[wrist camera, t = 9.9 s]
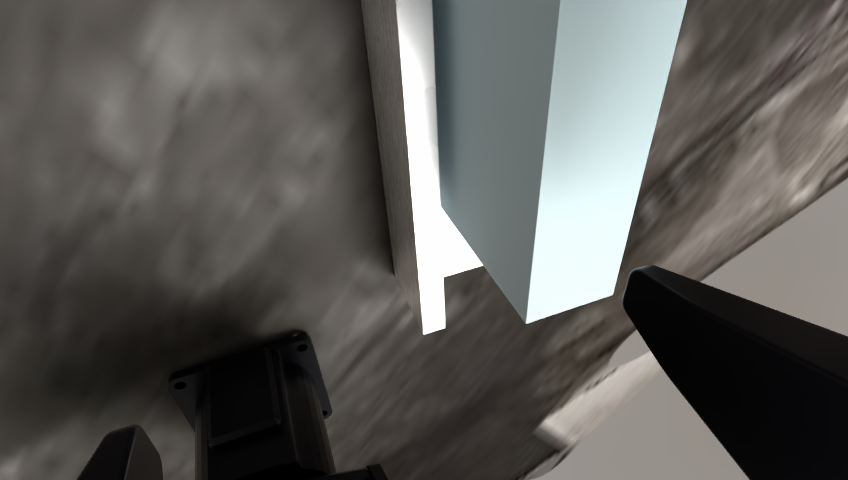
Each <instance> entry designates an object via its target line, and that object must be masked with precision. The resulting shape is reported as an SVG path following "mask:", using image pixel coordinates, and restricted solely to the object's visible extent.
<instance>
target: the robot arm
mask: <svg viewBox="0 0 848 480" xmlns="http://www.w3.org/2000/svg"><path fill="white" fill-rule="evenodd" d="M623 307H624V309H625V311H626V313H627V315H628V316H629V318H630V319H631V321H632V322H633V324H634V326H635V327H636V329H637V330H638V332H639V333H640V335H641V336H642V338H643V339H644V341H645V342H646V344H647V346H648V347H649V349H650V350H651V352H652V353H653V355H654V357H655V358H656V360H657V361H658V363H659V364H660V366H661V367H662V369H663V370H664V371H665V373H666V374H667V376H668V377H669V378H670V380H671V381H672V382H673V384H674V385H675V386H676V387H677V389H678V390H679V391H680V393H681V394H682V395H683V396H684V398H685V399H686V400H687V401H688V403H689V404H690V405H691V406H692V408H693V409H694V410H695V412H696V413H697V414H698V415H699V417H700V418H701V419H702V420H703V422H704V423H705V424H706V425H707V426H708V428H709V429H710V430H711V432H712V433H713V434H714V436H715V437H716V438H717V439H718V441H719V442H720V443H721V444H722V446H723V447H724V448H725V449H726V451H727V452H728V453H729V454H730V456H731V457H732V458H733V460H734V461H735V462H736V463H737V465H738V466H739V467H740V468H741V469H742V471H743V472H744V473H745V475H746V476H747V477H748V478H749V480H848V336H845V335H842V334H839V333H837V332H834V331H831V330H829V329H826V328H823V327H821V326H818V325H815V324H812V323H810V322H806V321H804V320H801V319H799V318H796V317H793V316H790V315H788V314H785V313H782V312H780V311H777V310H774V309H771V308H769V307H766V306H763V305H760V304H758V303H755V302H753V301H750V300H747V299H744V298H742V297H739V296H736V295H734V294H731V293H728V292H725V291H722V290H720V289H717V288H714V287H711V286H709V285H706V284H703V283H701V282H698V281H695V280H693V279H690V278H687V277H685V276H682V275H679V274H676V273H674V272H671V271H668V270H665V269H663V268H660V267H657V266H654V265H646V266H643V267H639V268H636V269H634V270H632V271H631V272H630V274H629V277H628V281H627V284H626V288H625V292H624V295H623ZM301 344H304V345H302V346H299V345H301ZM178 382H181V383H178ZM168 389H169V391H170V392H171V394H172V396H173V397H174V399H175V401H176V402H177V404H178V405H179V407H180V409H181V410H182V412H183V413H184V415H185V417H186V418H187V420H188V421H189V423H190V425H191V426H192V428H193V429H194V431H195V480H388V479H387V477H386V475H385V473H384V471H383V469H382V467H381V466H380V464H373V465H367V466H366V468H363V469H357V470H351V471H345V472H340V473H336V469H335V465H334V461H333V456H332V452H331V448H330V443H329V439H328V435H327V431H326V426H325V422H324V419H326V418H328V417H329V416H330V415H331V414H332V409H331V405H330V401H329V398H328V394H327V391H326V388H325V384H324V381H323V377H322V374H321V371H320V367H319V364H318V361H317V357H316V354H315V350H314V347H313V344H312V340H311V338H310V336H308V335H304V334H302V335H297V336H294V337H291V338H287V339H284V340H281V341H277V342H274V343H271V344H267V345H264V346H261V347H257V348H254V349H251V350H248V351H244V352H241V353H238V354H234V355H231V356H228V357H224V358H221V359H218V360H214V361H211V362H208V363H205V364H201V365H198V366H195V367H191V368H188V369H185V370H181V371H178V372H175V373H173V374H172V375H171V376H169V379H168ZM77 480H163V473H162V463H161V459H160V456H159V453H158V451H157V450H156V448H155V447H154V445H153V444H152V442H151V441H150V439H149V438H148V436H147V435H146V433H145V431H144V430H143V429H142V427H141V426H139V425H136V424H135V425H130V426H127V427H124V428H121V429H118V430H114V431H112V432H110V433H108V434H107V435H106V436H105V437H104V438H103V440H102V441H101V443H100V444H99V446H98V448H97V449H96V451H95V452H94V454H93V455H92V457H91V458H90V460H89V461H88V463H87V465H86V466H85V468H84V469H83V471H82V472H81V474H80V475H79V477H78V479H77Z"/></svg>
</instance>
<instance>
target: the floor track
mask: <svg viewBox="0 0 848 480" xmlns="http://www.w3.org/2000/svg"><path fill="white" fill-rule="evenodd" d="M361 6H362V14H363V22H364V30H365V38H366V47H367V55H368V63H369V71H370V79H371V87H372V95H373V104H374V112H375V120H376V128H377V136H378V144H379V152H380V161H381V169H382V177H383V185H384V193H385V201H386V209H387V217H388V226H389V234H390V242H391V250H392V258H393V266H394V274H395V278H396V280H397V282H398V284H399V286H400V288H401V290H402V292H403V294H404V296H405V298H406V300H407V302H408V304H409V306H410V308H411V310H412V312H413V315H414V317H415V319H416V321H417V323H418V325H419V327H420V329H421V331H422V333H423V335H425V334H428V333H431V332H434V331H437V330H440V329H443V328H445V305H444V281H443V277H445V276H449V275H452V274H456V273H459V272H462V271H466V270H469V269H473V268H476V267H479V266H483V264H482V263H481V262H480V260H479V259H478V257H477V256H476V255H475V253H474V252H473V251H472V249H471V248H470V247H469V245H468V244H467V242H466V241H465V240H464V238H463V237H462V236H461V234H460V233H459V231H458V230H457V229H456V227H455V226H454V225H453V223H452V222H451V221H450V219H449V218H448V216H447V215H446V214H445V212H444V211H443V210H442V208H441V207H440V184H439V159H438V135H437V111H436V86H435V62H434V38H433V14H432V0H361Z"/></svg>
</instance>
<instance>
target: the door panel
mask: <svg viewBox="0 0 848 480" xmlns="http://www.w3.org/2000/svg"><path fill="white" fill-rule="evenodd" d="M686 3H687V0H432V14H433V38H434V62H435V86H436V111H437V135H438V159H439V184H440V207H441V208H442V210H443V211H444V212H445V214H446V215H447V216H448V218H449V219H450V221H451V222H452V223H453V225H454V226H455V227H456V229H457V230H458V231H459V233H460V234H461V236H462V237H463V238H464V240H465V241H466V242H467V244H468V245H469V247H470V248H471V249H472V251H473V252H474V253H475V255H476V256H477V257H478V259H479V260H480V262H481V263H482V264H483V266H484V267H485V268H486V270H487V271H488V273H489V274H490V275H491V277H492V278H493V279H494V281H495V282H496V284H497V285H498V286H499V288H500V289H501V290H502V292H503V293H504V294H505V296H506V297H507V299H508V300H509V301H510V303H511V304H512V305H513V307H514V308H515V310H516V311H517V312H518V314H519V315H520V316H521V318H522V319H523V320H524V322H525V323H526V324H527V323H530V322H533V321H536V320H539V319H542V318H545V317H548V316H551V315H554V314H557V313H560V312H563V311H566V310H569V309H572V308H575V307H578V306H581V305H584V304H587V303H590V302H593V301H596V300H599V299H602V298H605V297H608V296H611V295H613V292H614V288H615V284H616V280H617V276H618V272H619V268H620V264H621V260H622V256H623V252H624V248H625V245H626V241H627V237H628V233H629V229H630V225H631V221H632V217H633V213H634V209H635V205H636V201H637V197H638V193H639V189H640V185H641V181H642V177H643V173H644V169H645V165H646V161H647V157H648V153H649V149H650V145H651V141H652V137H653V133H654V130H655V126H656V122H657V118H658V114H659V110H660V106H661V102H662V98H663V94H664V90H665V86H666V82H667V78H668V74H669V70H670V66H671V62H672V58H673V54H674V50H675V46H676V42H677V38H678V34H679V30H680V26H681V22H682V18H683V15H684V11H685V7H686Z"/></svg>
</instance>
